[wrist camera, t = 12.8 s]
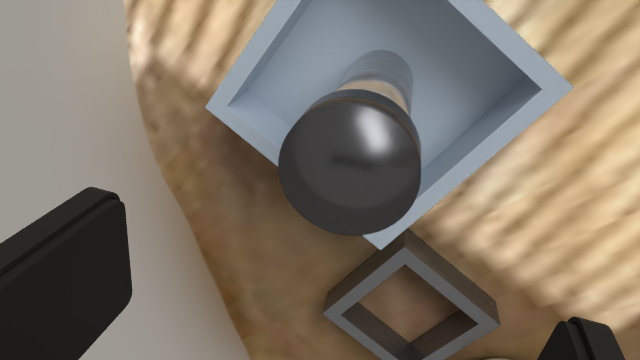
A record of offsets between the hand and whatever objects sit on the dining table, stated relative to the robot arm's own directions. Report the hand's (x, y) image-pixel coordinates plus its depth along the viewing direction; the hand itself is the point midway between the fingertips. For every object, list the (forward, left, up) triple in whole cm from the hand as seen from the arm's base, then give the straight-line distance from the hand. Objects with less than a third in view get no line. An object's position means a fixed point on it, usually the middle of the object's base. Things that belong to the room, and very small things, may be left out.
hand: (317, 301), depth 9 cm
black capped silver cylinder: (0, 0, -20) cm, 19 cm away
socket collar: (-13, +11, -20) cm, 26 cm away
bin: (0, 0, -20) cm, 20 cm away
